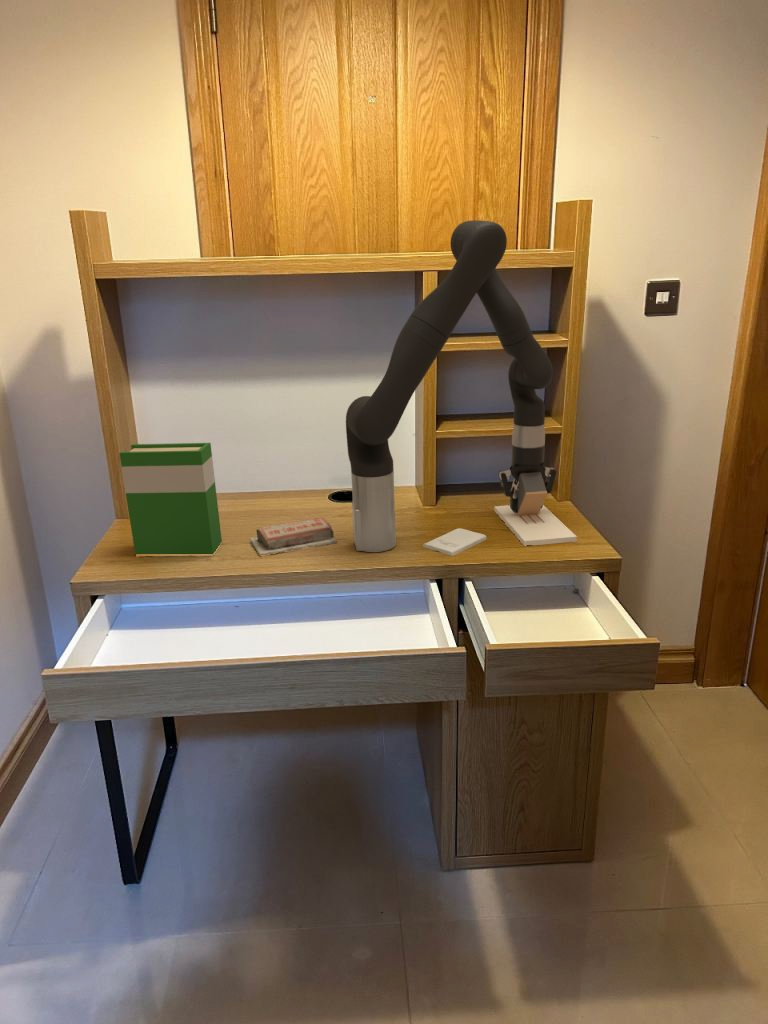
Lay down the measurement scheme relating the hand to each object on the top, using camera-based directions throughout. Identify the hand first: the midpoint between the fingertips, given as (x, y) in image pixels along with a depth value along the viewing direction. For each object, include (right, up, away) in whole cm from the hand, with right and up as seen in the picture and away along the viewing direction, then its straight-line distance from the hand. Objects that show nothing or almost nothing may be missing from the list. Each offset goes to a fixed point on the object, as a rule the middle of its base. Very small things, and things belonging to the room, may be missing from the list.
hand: (526, 510), depth 181 cm
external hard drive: (-18, -8, -13) cm, 24 cm away
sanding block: (+1, +1, -5) cm, 5 cm away
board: (+1, -3, -4) cm, 5 cm away
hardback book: (-81, -9, -11) cm, 82 cm away
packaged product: (-55, -8, -9) cm, 56 cm away
